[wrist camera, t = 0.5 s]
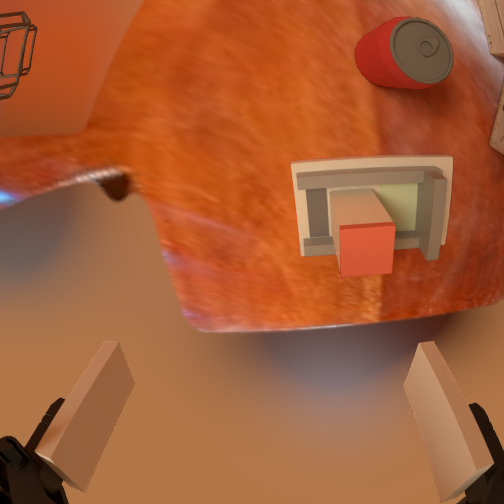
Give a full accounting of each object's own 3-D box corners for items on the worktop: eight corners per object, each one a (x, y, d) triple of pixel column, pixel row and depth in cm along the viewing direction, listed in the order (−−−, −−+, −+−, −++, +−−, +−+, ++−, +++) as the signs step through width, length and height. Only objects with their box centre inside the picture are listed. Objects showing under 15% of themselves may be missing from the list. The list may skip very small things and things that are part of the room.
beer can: (419, 67, 26) (472, 65, 15) (380, 98, 29) (421, 106, 18) (381, 22, 24) (422, -2, 14) (341, 53, 27) (365, 37, 16)
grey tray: (301, 251, 40) (301, 279, 35) (290, 161, 34) (290, 176, 29) (441, 240, 36) (459, 265, 31) (448, 154, 30) (473, 169, 25)
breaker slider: (331, 230, 36) (341, 277, 28) (328, 190, 34) (340, 229, 25) (371, 227, 35) (391, 273, 27) (371, 188, 33) (395, 225, 24)
